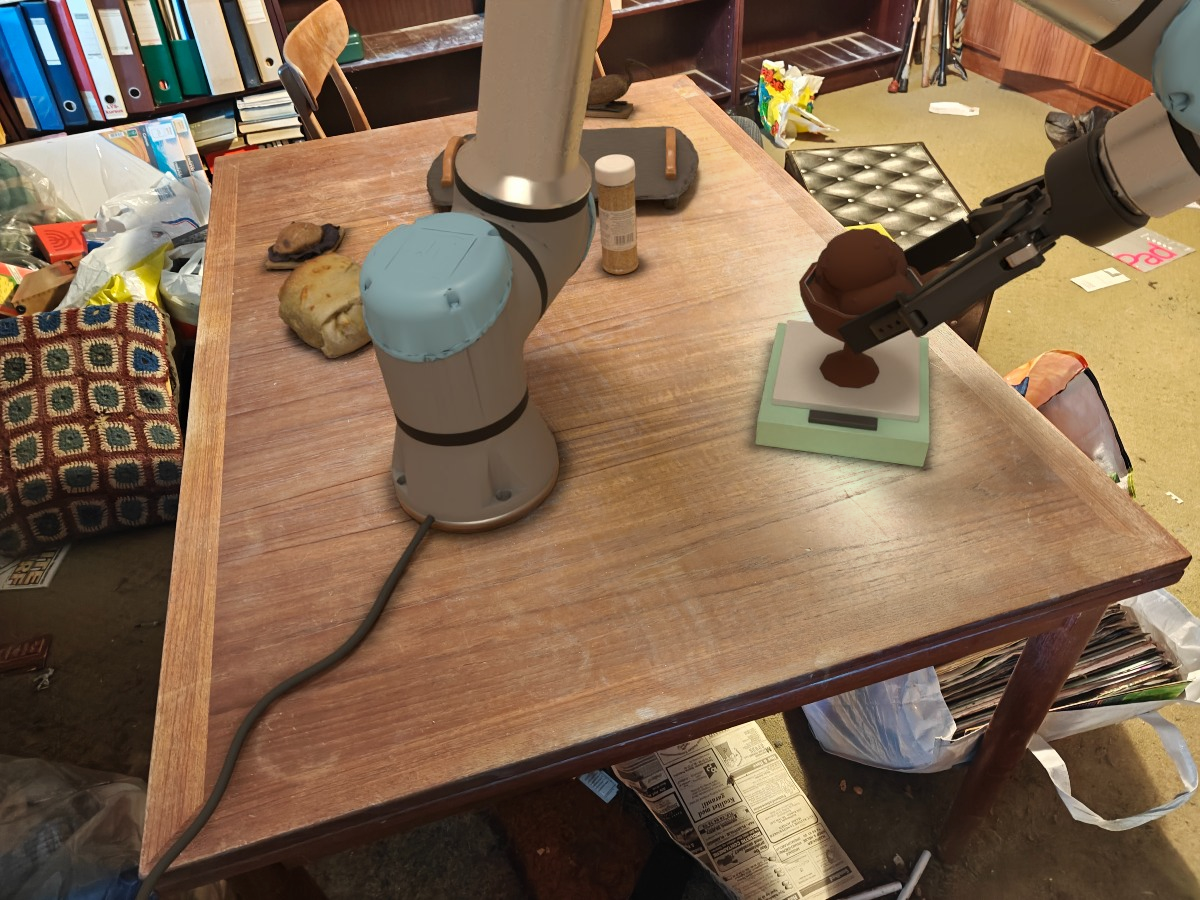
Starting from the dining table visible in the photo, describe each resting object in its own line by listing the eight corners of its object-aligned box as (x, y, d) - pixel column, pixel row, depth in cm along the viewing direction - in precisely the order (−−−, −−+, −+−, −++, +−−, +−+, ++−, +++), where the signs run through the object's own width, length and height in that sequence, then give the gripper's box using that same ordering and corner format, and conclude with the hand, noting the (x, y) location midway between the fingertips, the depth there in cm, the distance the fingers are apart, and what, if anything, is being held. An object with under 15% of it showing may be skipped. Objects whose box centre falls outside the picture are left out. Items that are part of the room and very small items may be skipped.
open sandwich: (322, 273, 109) (313, 247, 106) (260, 271, 110) (250, 245, 107) (351, 231, 116) (344, 206, 114) (293, 229, 117) (285, 205, 115)
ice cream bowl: (913, 410, 77) (950, 263, 66) (787, 400, 79) (803, 256, 68) (907, 341, 84) (938, 200, 74) (791, 334, 86) (806, 195, 76)
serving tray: (416, 223, 117) (406, 180, 112) (447, 151, 134) (440, 111, 129) (701, 215, 113) (701, 170, 109) (696, 142, 130) (697, 101, 126)
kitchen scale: (922, 467, 77) (931, 435, 74) (755, 444, 80) (757, 413, 78) (922, 361, 88) (930, 330, 85) (775, 345, 91) (778, 315, 89)
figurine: (658, 109, 141) (657, 54, 135) (652, 120, 138) (651, 64, 132) (577, 105, 144) (573, 51, 138) (569, 116, 141) (565, 61, 135)
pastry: (302, 294, 105) (282, 235, 99) (403, 289, 104) (388, 229, 99) (271, 364, 94) (246, 302, 89) (383, 358, 94) (365, 295, 89)
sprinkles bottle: (637, 255, 107) (633, 151, 98) (639, 274, 103) (636, 168, 94) (600, 258, 107) (593, 154, 98) (602, 277, 104) (594, 171, 94)
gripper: (1115, 305, 51) (846, 413, 68) (1189, 149, 66) (951, 270, 83) (1048, 204, 50) (791, 339, 67) (1138, 67, 65) (907, 207, 82)
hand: (879, 301), depth 75 cm, fingers open, 13 cm apart
